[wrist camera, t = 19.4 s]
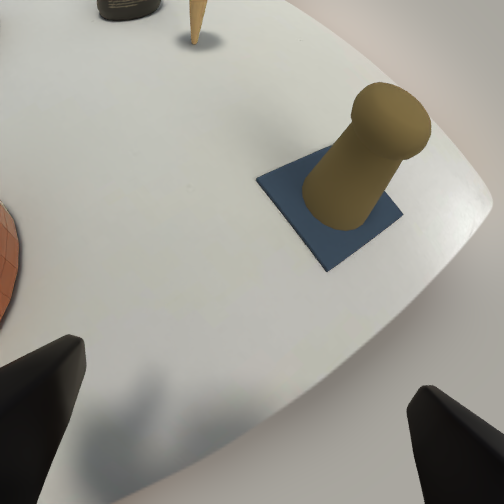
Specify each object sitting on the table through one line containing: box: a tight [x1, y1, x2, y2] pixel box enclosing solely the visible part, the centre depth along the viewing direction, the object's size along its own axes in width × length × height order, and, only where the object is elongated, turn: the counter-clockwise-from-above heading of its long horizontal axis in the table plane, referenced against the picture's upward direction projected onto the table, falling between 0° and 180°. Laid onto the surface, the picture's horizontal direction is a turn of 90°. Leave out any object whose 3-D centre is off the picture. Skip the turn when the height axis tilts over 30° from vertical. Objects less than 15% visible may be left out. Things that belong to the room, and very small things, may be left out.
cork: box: [302, 82, 431, 231], centre depth 21 cm, size 6×6×11 cm
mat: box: [256, 145, 403, 272], centre depth 26 cm, size 10×9×1 cm
